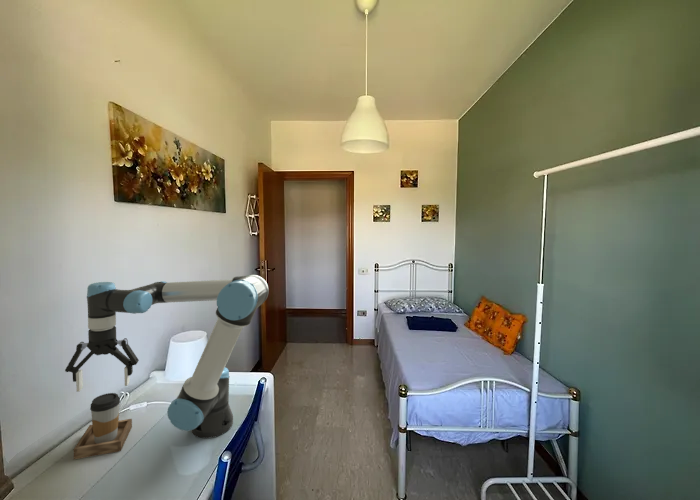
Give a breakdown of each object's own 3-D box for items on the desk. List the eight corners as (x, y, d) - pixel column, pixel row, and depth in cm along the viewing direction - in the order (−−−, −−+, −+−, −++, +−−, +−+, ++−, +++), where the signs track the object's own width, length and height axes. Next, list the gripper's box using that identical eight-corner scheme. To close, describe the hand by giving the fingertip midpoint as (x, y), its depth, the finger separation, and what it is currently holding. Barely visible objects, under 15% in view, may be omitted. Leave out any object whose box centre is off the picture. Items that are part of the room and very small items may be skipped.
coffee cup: (126, 433, 115) (125, 394, 114) (103, 449, 107) (102, 407, 106) (108, 429, 117) (107, 390, 116) (84, 444, 109) (83, 402, 108)
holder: (131, 427, 120) (131, 418, 120) (121, 450, 108) (120, 441, 108) (90, 434, 115) (89, 425, 115) (73, 459, 103) (73, 449, 103)
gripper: (147, 321, 116) (148, 376, 118) (61, 326, 107) (64, 386, 109) (142, 328, 109) (143, 386, 111) (50, 334, 100) (52, 398, 102)
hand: (104, 386), depth 110 cm, fingers open, 13 cm apart
